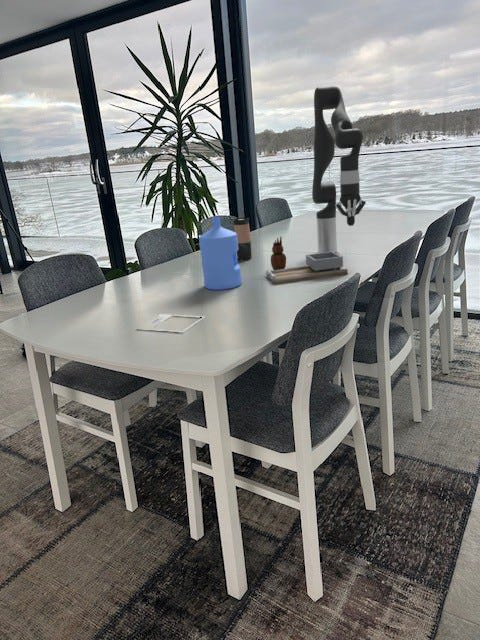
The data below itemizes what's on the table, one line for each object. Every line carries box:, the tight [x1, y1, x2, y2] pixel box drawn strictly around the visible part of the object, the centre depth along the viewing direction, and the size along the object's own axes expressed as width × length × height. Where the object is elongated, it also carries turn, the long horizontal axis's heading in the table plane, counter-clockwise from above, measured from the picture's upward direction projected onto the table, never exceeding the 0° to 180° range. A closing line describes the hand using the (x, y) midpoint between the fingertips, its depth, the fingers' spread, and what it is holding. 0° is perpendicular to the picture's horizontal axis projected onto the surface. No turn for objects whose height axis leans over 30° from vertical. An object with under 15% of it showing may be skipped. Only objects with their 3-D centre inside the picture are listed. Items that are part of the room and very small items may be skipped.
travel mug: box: [233, 217, 252, 261], centre depth 248 cm, size 8×8×20 cm
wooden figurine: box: [270, 236, 287, 270], centre depth 220 cm, size 7×6×15 cm
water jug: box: [198, 216, 243, 291], centre depth 203 cm, size 16×16×28 cm
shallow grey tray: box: [305, 251, 344, 273], centre depth 209 cm, size 12×12×6 cm
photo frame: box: [147, 313, 206, 334], centre depth 167 cm, size 15×1×18 cm
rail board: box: [266, 265, 349, 285], centre depth 209 cm, size 14×31×3 cm, turn 100°
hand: (350, 225), depth 206 cm, fingers closed
